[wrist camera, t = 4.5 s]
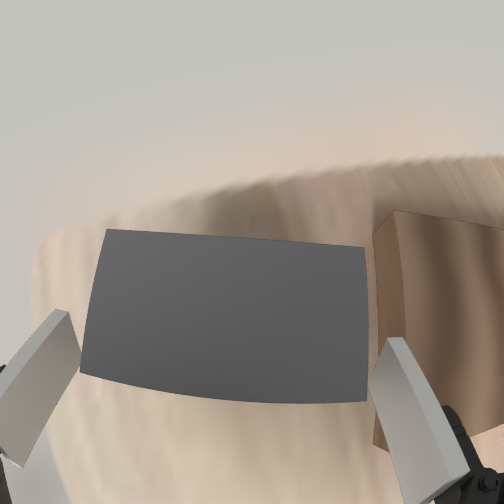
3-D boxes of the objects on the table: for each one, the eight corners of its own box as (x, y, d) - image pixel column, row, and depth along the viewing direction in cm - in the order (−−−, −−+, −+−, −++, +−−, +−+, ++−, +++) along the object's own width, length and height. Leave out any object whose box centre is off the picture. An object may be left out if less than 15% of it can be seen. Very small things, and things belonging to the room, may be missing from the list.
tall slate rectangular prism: (297, 313, 20) (363, 236, 9) (294, 384, 18) (366, 401, 7) (180, 304, 20) (109, 219, 9) (172, 373, 18) (79, 372, 7)
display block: (519, 253, 22) (542, 238, 18) (530, 398, 16) (557, 395, 12) (372, 235, 22) (393, 210, 18) (372, 444, 16) (398, 456, 12)
